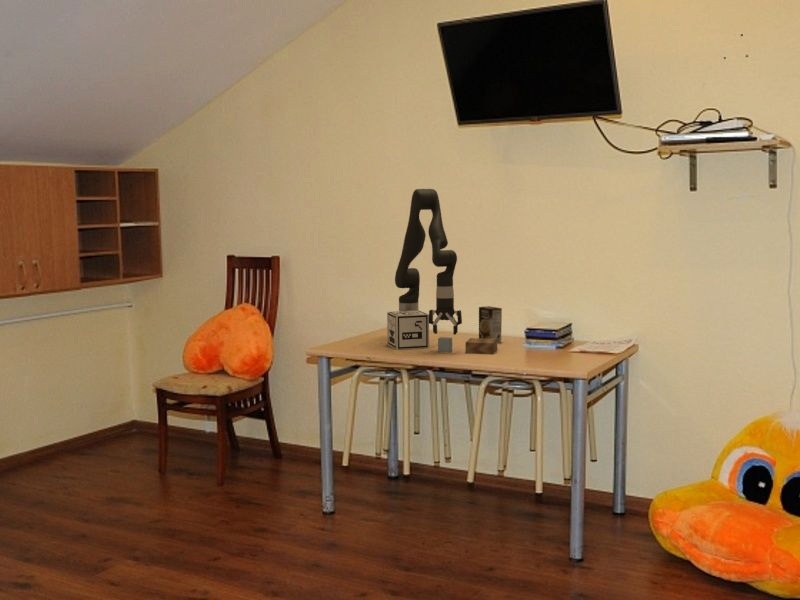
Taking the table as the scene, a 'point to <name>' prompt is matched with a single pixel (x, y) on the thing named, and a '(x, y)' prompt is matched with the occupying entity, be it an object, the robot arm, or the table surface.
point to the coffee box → (490, 323)
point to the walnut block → (481, 346)
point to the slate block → (445, 344)
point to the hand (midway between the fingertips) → (445, 334)
